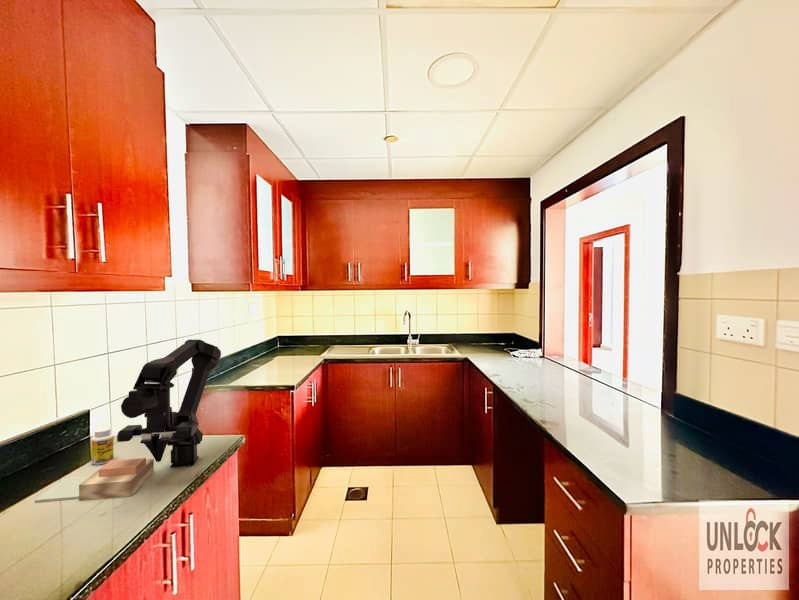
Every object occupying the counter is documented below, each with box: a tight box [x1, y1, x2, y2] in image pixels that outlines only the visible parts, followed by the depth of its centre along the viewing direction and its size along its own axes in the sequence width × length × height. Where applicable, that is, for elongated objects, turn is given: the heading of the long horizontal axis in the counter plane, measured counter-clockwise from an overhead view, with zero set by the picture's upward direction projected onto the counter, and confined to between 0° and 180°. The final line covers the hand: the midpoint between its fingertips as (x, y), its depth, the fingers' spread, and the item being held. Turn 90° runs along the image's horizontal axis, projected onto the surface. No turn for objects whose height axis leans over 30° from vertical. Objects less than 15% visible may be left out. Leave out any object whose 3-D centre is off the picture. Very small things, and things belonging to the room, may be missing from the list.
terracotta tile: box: [98, 457, 147, 477], centre depth 108 cm, size 9×6×2 cm, turn 101°
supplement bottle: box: [91, 427, 114, 466], centre depth 123 cm, size 6×6×10 cm
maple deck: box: [78, 458, 155, 501], centre depth 108 cm, size 12×14×4 cm
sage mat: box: [34, 475, 91, 503], centre depth 106 cm, size 10×12×1 cm
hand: (158, 461), depth 110 cm, fingers closed
